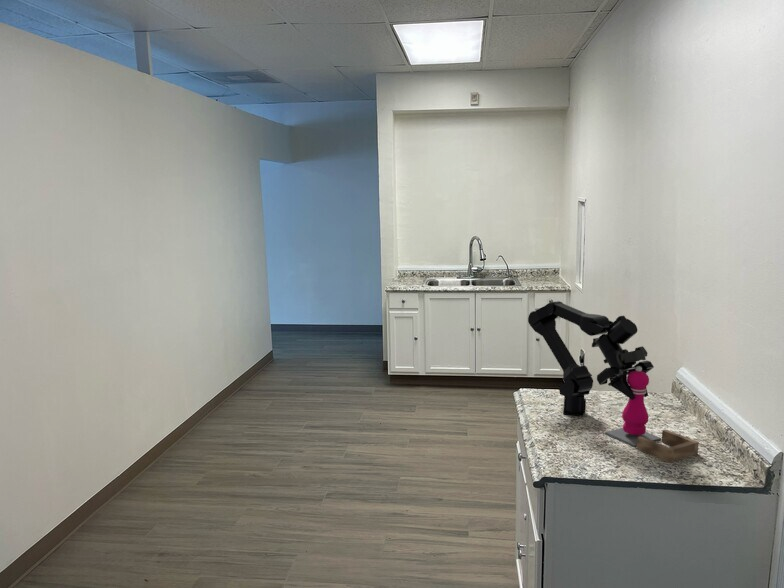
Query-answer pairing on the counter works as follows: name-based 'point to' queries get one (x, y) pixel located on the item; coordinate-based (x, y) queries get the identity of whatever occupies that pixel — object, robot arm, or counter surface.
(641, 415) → the pepper mill
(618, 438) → the rubber mat
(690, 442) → the walnut cradle
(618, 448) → the counter surface
